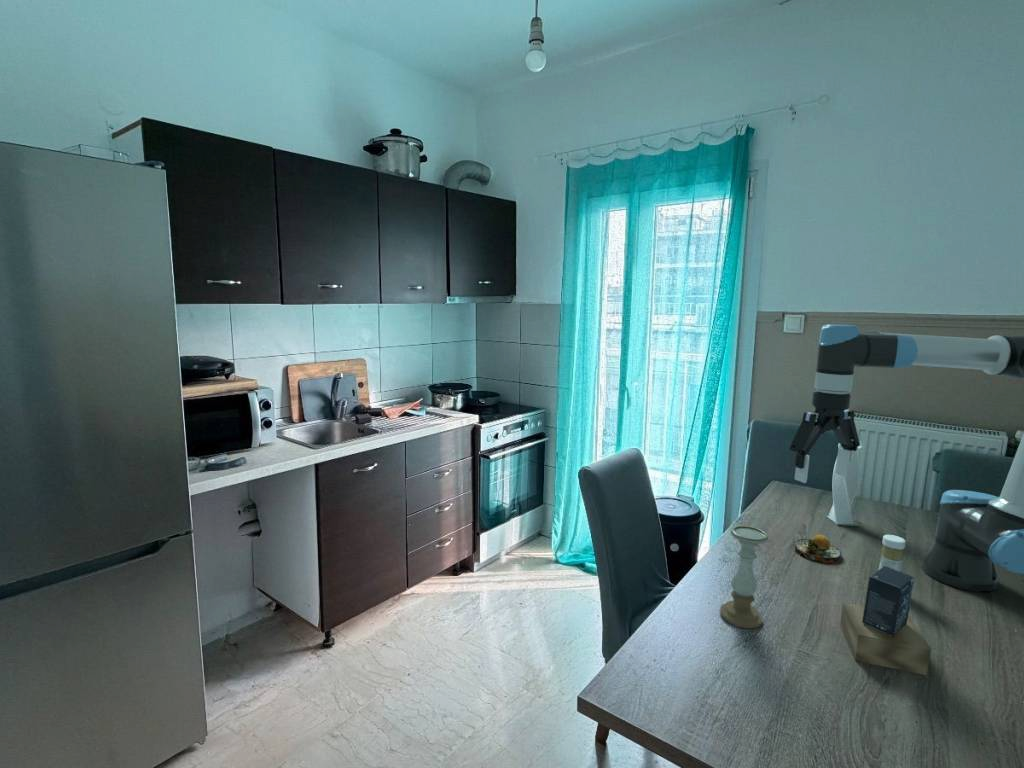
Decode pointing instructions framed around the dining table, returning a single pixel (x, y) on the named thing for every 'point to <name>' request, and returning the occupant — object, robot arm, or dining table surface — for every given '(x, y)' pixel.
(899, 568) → the sprinkles bottle
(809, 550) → the burger
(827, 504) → the dining table surface
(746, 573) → the candle holder
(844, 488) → the skyscraper
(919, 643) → the tan square block
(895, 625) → the box
